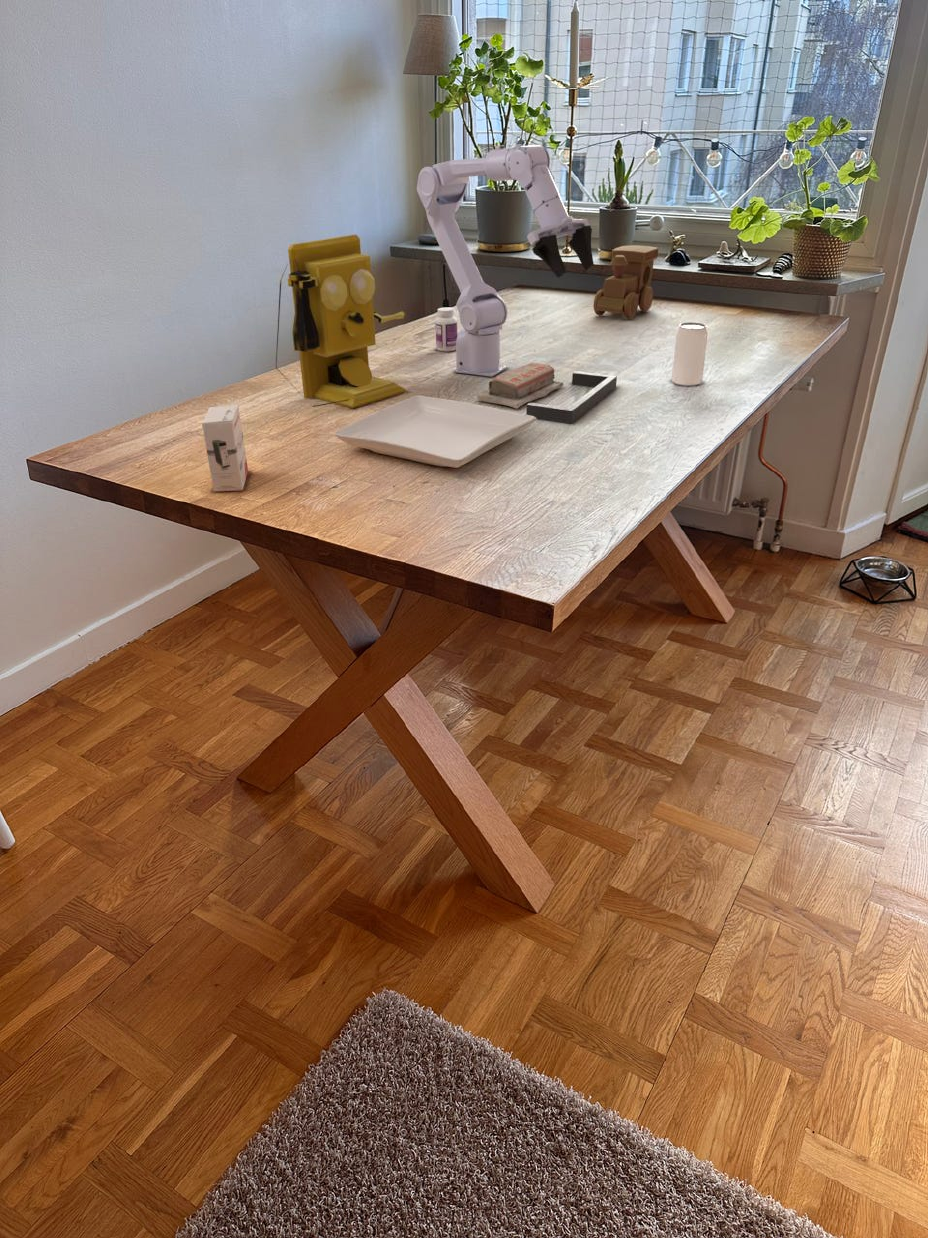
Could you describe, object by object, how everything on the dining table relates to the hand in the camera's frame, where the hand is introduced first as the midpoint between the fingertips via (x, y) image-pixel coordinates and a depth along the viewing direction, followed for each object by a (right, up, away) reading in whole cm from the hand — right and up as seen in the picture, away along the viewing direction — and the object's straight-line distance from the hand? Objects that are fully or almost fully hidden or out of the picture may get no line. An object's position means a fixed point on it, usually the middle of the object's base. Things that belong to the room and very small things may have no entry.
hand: (576, 271), depth 175 cm
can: (+26, -17, +19) cm, 36 cm away
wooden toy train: (+23, +18, +77) cm, 82 cm away
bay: (0, -23, +8) cm, 25 cm away
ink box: (-61, -45, -26) cm, 80 cm away
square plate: (-27, -36, -12) cm, 46 cm away
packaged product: (-10, -21, +13) cm, 27 cm away
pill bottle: (-26, -2, +46) cm, 53 cm away
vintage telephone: (-45, -21, +14) cm, 52 cm away
